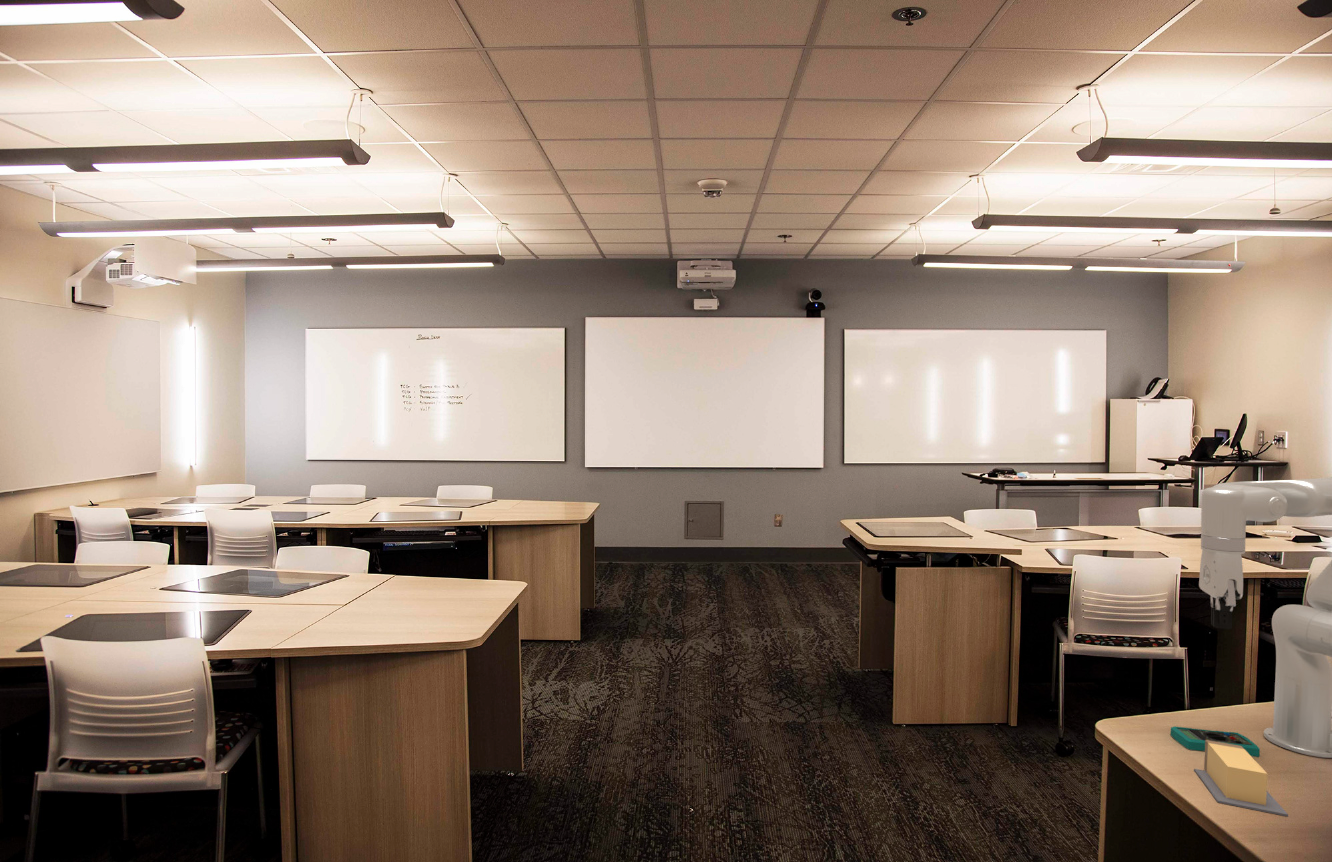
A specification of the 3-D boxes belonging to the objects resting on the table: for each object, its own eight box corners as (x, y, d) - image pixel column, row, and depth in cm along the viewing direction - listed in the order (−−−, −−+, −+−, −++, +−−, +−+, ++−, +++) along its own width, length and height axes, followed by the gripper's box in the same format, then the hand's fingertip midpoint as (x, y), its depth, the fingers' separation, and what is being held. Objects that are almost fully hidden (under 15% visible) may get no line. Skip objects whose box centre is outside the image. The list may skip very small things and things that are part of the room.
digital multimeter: (1263, 759, 146) (1263, 746, 146) (1187, 751, 149) (1187, 738, 149) (1240, 743, 154) (1240, 731, 154) (1168, 736, 156) (1169, 723, 156)
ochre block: (1241, 745, 138) (1267, 773, 126) (1240, 774, 138) (1266, 804, 127) (1205, 739, 140) (1227, 766, 129) (1204, 768, 140) (1226, 797, 129)
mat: (1257, 782, 136) (1257, 780, 136) (1288, 816, 124) (1288, 814, 124) (1194, 770, 140) (1194, 768, 140) (1217, 802, 128) (1217, 800, 128)
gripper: (1189, 537, 155) (1187, 615, 156) (1215, 549, 141) (1214, 635, 142) (1229, 539, 153) (1227, 619, 153) (1260, 551, 139) (1258, 639, 139)
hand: (1221, 627), depth 147 cm, fingers closed
